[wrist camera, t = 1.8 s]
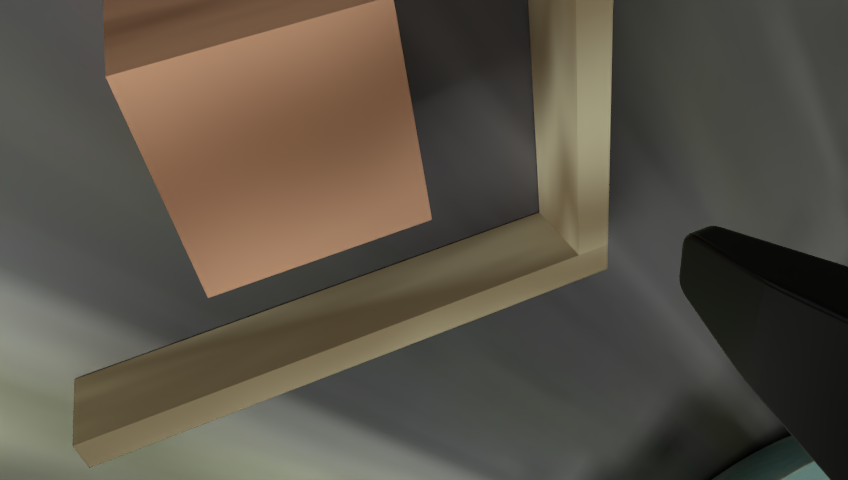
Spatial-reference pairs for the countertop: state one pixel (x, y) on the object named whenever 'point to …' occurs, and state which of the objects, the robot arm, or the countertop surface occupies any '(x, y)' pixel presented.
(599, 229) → the open wooden frame
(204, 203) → the terracotta cube
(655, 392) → the countertop surface
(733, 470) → the teal plate
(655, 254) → the countertop surface
